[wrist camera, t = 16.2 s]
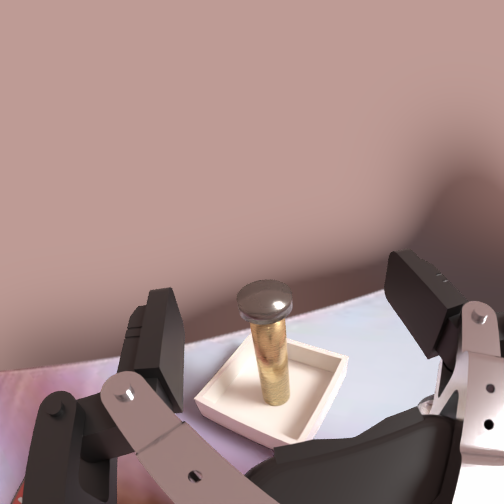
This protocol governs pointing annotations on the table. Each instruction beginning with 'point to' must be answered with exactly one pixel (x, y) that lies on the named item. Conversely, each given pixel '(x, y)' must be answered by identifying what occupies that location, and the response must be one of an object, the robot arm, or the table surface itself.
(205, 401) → the parts tray
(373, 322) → the table surface
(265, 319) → the lock pin
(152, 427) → the robot arm
